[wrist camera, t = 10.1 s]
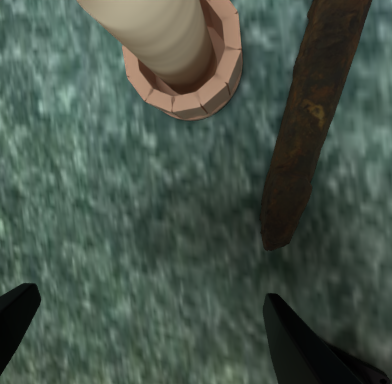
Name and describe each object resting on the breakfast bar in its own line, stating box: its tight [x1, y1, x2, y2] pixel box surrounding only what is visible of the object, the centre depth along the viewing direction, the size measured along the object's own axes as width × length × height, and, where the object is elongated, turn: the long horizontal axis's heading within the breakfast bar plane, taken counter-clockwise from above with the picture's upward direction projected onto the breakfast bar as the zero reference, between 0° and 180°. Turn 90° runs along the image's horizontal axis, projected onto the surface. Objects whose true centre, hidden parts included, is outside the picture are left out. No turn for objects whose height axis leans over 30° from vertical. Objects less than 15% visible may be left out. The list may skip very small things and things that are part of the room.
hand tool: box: [260, 0, 372, 251], centre depth 15 cm, size 19×4×5 cm, turn 165°
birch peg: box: [77, 0, 217, 95], centre depth 12 cm, size 4×4×10 cm
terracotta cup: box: [122, 0, 243, 121], centre depth 16 cm, size 8×8×4 cm
